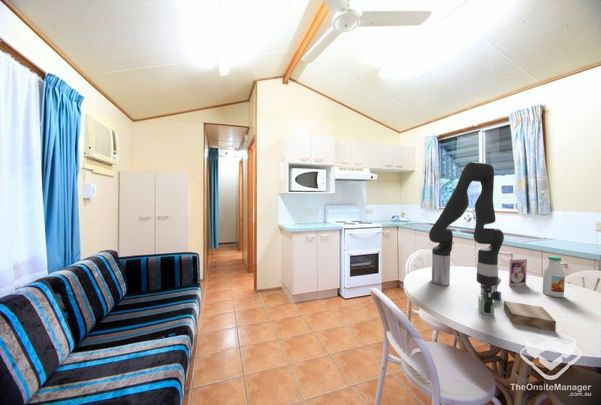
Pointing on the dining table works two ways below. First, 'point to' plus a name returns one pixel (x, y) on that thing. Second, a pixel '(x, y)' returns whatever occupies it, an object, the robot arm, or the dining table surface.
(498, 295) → the watch
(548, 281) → the milk bottle
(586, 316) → the dining table surface
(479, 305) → the block
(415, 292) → the dining table surface
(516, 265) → the greeting card
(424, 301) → the dining table surface
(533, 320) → the plinth
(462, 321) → the dining table surface
